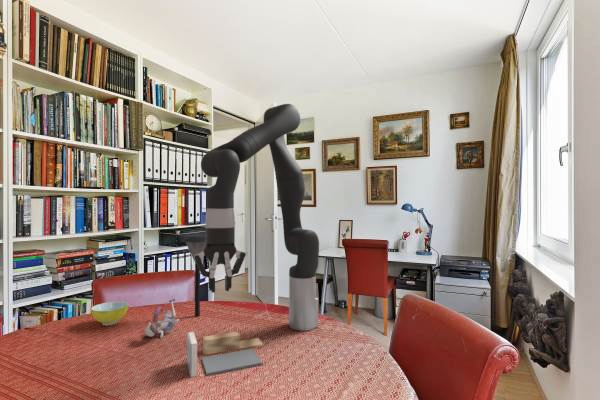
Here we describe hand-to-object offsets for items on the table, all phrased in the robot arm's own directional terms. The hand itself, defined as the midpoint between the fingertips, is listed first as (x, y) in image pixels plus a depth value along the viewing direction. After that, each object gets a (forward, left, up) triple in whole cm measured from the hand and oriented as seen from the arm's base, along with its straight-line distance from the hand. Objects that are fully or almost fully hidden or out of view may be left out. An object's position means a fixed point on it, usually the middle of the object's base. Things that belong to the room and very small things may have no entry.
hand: (219, 290), depth 88 cm
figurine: (+13, -27, -19) cm, 36 cm away
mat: (-3, 0, -19) cm, 19 cm away
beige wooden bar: (-5, -8, -19) cm, 22 cm away
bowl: (+30, -45, -19) cm, 57 cm away
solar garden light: (+1, -41, -19) cm, 45 cm away
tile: (+7, 0, -19) cm, 20 cm away
